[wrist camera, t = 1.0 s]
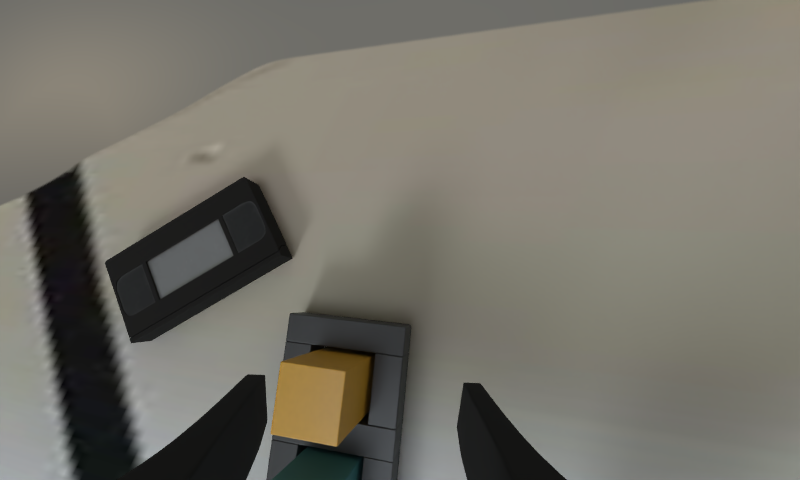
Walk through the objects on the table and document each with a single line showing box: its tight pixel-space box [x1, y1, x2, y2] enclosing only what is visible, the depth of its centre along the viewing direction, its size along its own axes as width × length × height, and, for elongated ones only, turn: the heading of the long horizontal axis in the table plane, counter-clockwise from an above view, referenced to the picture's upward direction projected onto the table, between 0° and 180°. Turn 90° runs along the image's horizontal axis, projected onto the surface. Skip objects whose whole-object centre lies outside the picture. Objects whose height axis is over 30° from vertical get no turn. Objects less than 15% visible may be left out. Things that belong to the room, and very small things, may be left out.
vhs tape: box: [105, 177, 292, 343], centre depth 31 cm, size 8×14×2 cm, turn 118°
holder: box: [267, 312, 411, 480], centre depth 26 cm, size 15×9×2 cm, turn 174°
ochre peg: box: [271, 347, 375, 447], centre depth 24 cm, size 4×4×8 cm
